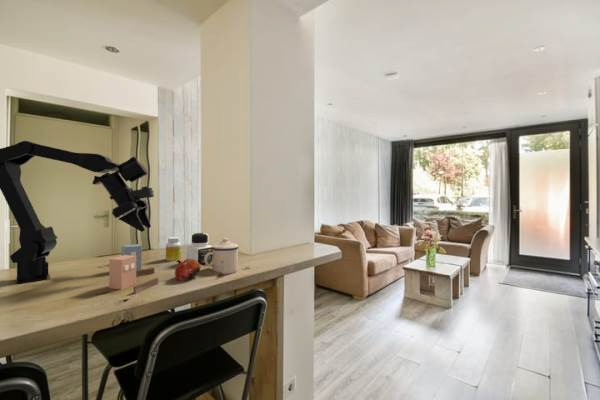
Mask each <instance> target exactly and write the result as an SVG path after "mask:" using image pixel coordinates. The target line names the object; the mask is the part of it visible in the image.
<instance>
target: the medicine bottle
mask: <svg viewBox="0 0 600 400" xmlns="http://www.w3.org/2000/svg"><path fill="white" fill-rule="evenodd" d="M212 246H213V245H211V244H209V234H208V233H206V232H195V233H193V234H192V235H191V245H188V246H186V249H185V250H186V254H185V255H186V256H185V257H186V259H194V260H196V261H197V262H198V263H199V264H200V265H201V267H206V266H207V265H206V264H205V261H204V257H205V255H206V254H207V253H209V252H213V249H212ZM212 256H213V254H211V255H209V256H208V257H207V262H208V264H212ZM186 259H185V260H186ZM207 267H208V266H207Z"/></svg>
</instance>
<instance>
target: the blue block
mask: <svg viewBox="0 0 600 400" xmlns="http://www.w3.org/2000/svg"><path fill="white" fill-rule="evenodd" d="M123 255H130V256H136V270H142V245H140V244H138V243H136V244H127V245H121V251H120V256H123Z"/></svg>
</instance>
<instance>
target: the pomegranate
mask: <svg viewBox="0 0 600 400" xmlns="http://www.w3.org/2000/svg"><path fill="white" fill-rule="evenodd" d="M175 263H178V265H177V267H176V268H175V269H174V276H175V279H176V281H180V282H185V281H188V280H189V279H192V278H193V279H194V280H196V279H197V278H196V277H195V276H196V275H197V274H199V272H200V270H201V269H202V265H200V264H199V263H198V262H197V261H196V260H194V259H184V260H183V261H181V260H177V261H175Z"/></svg>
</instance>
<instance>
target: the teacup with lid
mask: <svg viewBox="0 0 600 400" xmlns="http://www.w3.org/2000/svg"><path fill="white" fill-rule="evenodd" d="M211 246H212V249H213V252H209V253H207V254H206V255H205V257H204V261H205V264H206V265H207V267H209V268H210V267H211V268H212V272H217V273H220V275H230V274H233V273H236V272H237V271H238V259H239V258H238V256H239V254H238V250H239V249H238V248H239V245H238V244H237V243H234V242H232V241H231V240H229V238H227V237H223V238H222V240H221V241H219V242H218V243H215V244H213V245H211ZM211 254H213V256H212V264H208V262H207V257H208V256H209V255H211Z"/></svg>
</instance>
